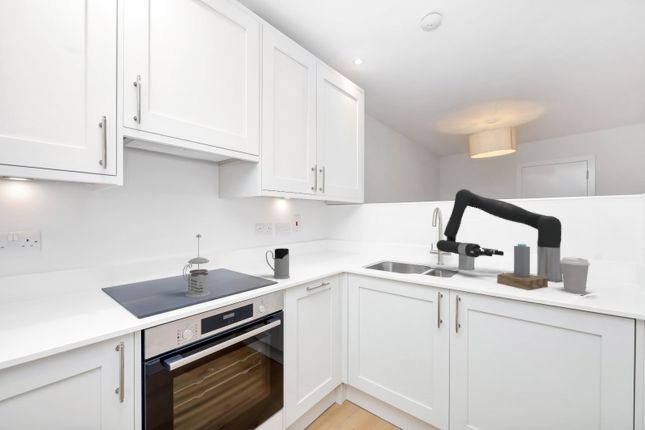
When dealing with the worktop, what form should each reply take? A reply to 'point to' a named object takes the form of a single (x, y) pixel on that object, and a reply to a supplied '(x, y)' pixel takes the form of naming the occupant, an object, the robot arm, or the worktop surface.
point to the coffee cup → (575, 274)
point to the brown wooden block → (522, 281)
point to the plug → (522, 261)
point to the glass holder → (280, 263)
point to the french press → (197, 277)
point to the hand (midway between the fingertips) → (497, 254)
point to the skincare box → (466, 262)
